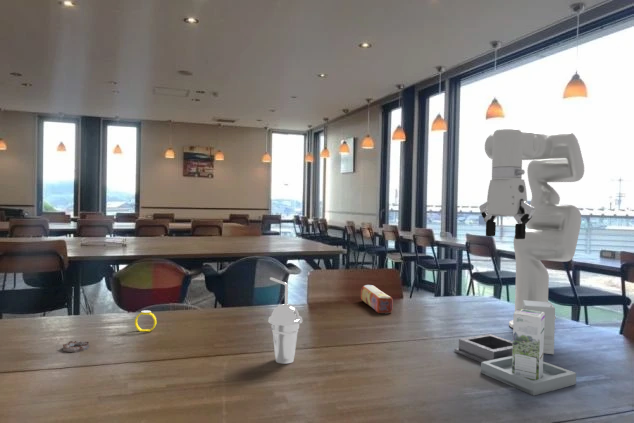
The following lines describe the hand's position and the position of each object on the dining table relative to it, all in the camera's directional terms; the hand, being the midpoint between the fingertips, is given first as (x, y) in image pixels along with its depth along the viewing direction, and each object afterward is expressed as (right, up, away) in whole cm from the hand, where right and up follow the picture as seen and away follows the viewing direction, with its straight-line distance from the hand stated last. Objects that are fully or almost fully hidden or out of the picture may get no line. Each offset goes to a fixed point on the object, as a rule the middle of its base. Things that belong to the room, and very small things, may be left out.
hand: (504, 237), depth 126 cm
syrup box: (-4, -30, -22) cm, 37 cm away
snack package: (-29, -29, +47) cm, 63 cm away
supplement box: (+9, -31, 0) cm, 32 cm away
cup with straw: (-59, -30, -12) cm, 67 cm away
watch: (-102, -28, +10) cm, 106 cm away
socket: (-6, -30, -6) cm, 32 cm away
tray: (-4, -31, -21) cm, 38 cm away
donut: (-114, -29, -7) cm, 118 cm away
